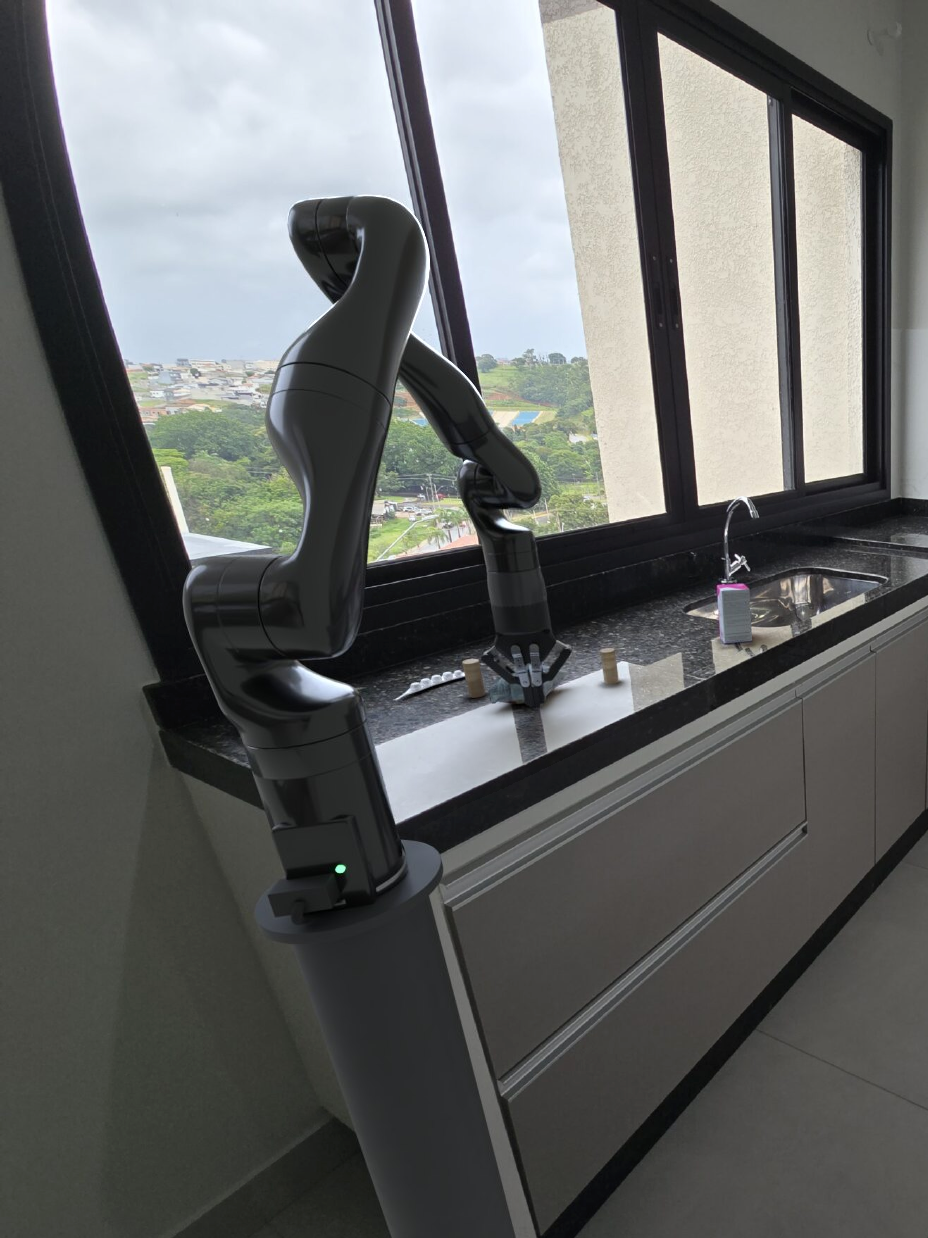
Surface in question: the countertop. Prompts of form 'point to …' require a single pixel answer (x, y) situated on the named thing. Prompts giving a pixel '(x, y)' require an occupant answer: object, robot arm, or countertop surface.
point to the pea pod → (432, 682)
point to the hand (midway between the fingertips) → (536, 706)
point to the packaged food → (515, 692)
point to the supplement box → (734, 613)
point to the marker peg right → (609, 666)
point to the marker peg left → (473, 678)
